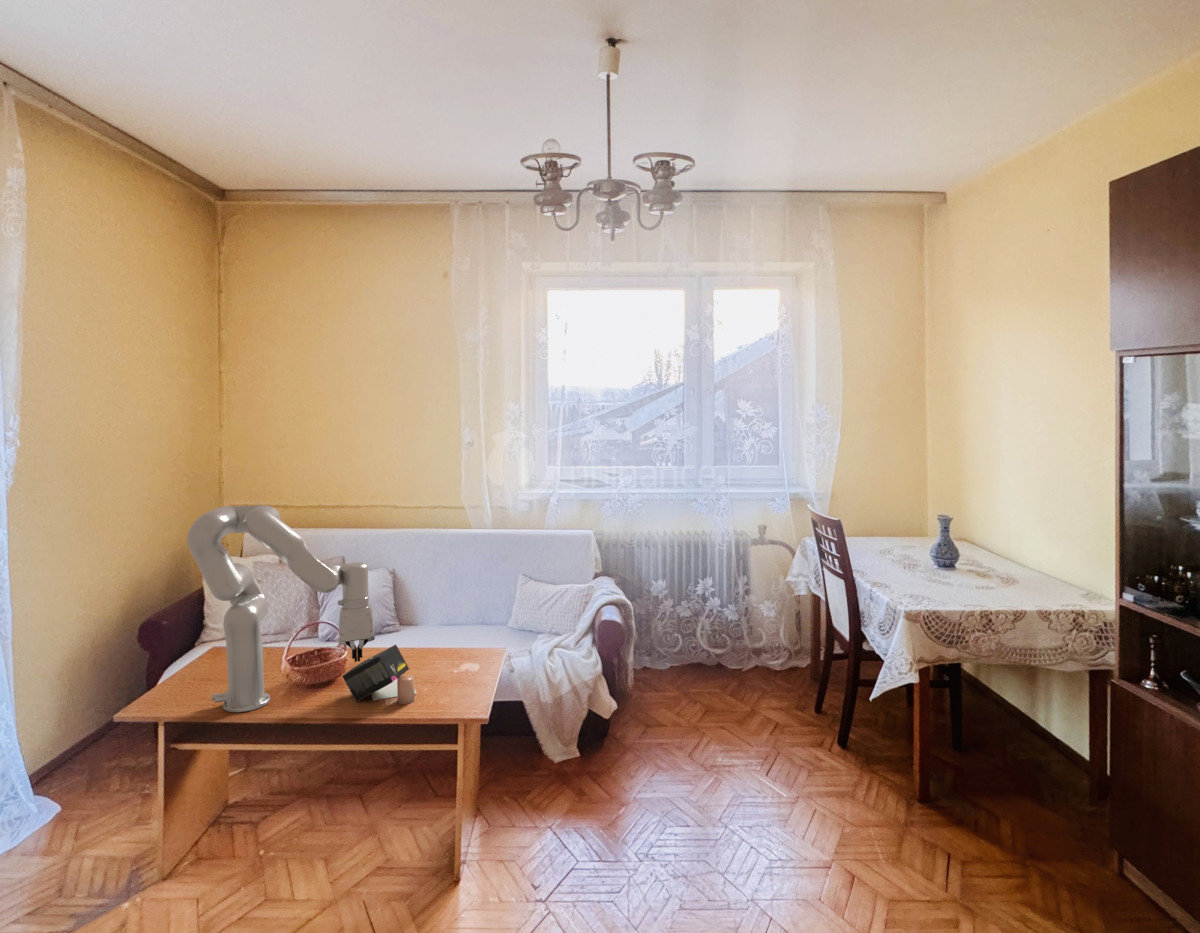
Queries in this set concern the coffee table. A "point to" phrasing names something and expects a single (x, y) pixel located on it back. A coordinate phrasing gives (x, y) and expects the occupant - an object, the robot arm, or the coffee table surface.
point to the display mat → (387, 691)
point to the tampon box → (375, 673)
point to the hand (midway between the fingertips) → (357, 660)
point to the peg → (405, 689)
